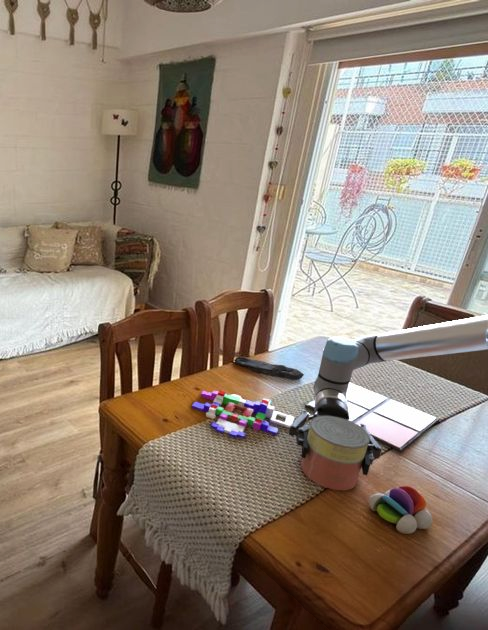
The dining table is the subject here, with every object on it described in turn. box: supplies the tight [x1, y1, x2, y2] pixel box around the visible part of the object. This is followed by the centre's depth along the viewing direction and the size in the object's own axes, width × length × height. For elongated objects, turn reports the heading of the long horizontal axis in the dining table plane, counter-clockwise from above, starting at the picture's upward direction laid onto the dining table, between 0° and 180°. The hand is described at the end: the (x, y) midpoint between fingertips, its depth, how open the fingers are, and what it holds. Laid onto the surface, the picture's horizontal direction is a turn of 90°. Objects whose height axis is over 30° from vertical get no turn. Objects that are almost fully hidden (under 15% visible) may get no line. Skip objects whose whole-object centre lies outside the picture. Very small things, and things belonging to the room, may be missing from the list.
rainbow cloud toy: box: [368, 485, 433, 535], centre depth 87 cm, size 8×10×7 cm
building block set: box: [191, 390, 295, 439], centre depth 120 cm, size 25×20×4 cm
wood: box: [230, 356, 305, 381], centre depth 145 cm, size 22×7×3 cm, turn 55°
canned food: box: [300, 416, 370, 491], centre depth 98 cm, size 11×11×12 cm
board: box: [304, 381, 440, 453], centre depth 122 cm, size 24×24×1 cm
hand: (334, 461), depth 95 cm, fingers closed on canned food, 11 cm apart
